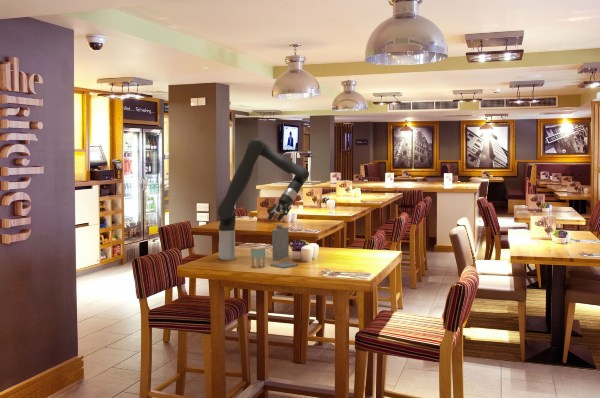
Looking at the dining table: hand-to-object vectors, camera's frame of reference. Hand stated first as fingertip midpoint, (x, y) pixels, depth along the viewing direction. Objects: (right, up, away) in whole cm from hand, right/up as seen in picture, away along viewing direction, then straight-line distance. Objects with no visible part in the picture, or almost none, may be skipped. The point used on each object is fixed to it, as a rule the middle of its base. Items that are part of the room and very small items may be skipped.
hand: (273, 219), depth 348 cm
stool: (-8, -26, -5) cm, 28 cm away
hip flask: (+3, -24, +21) cm, 32 cm away
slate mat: (+6, -25, -3) cm, 26 cm away
